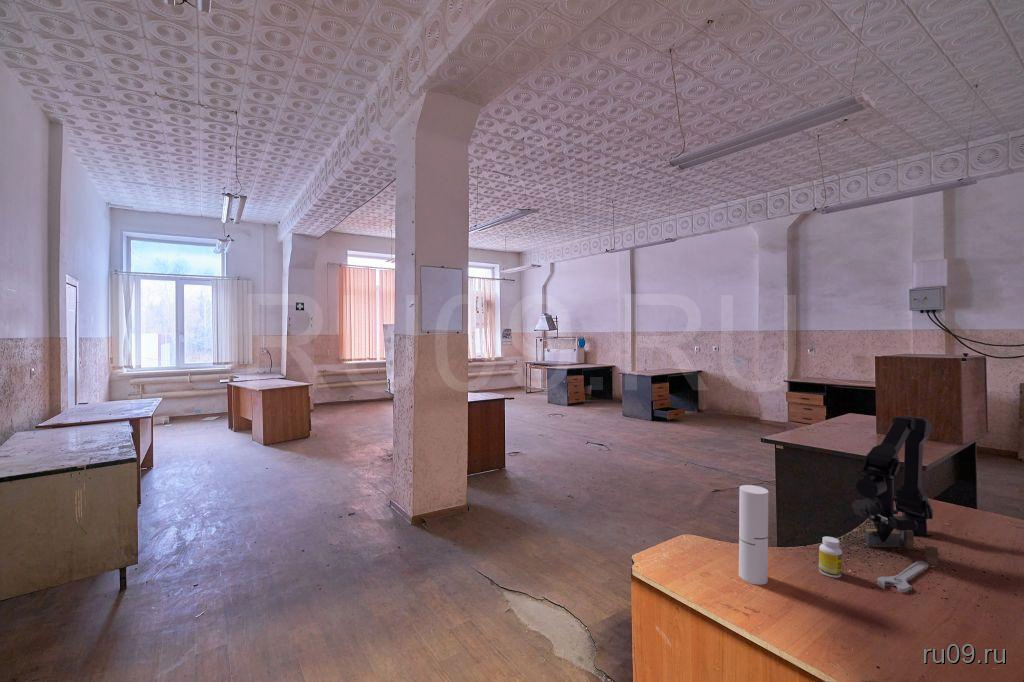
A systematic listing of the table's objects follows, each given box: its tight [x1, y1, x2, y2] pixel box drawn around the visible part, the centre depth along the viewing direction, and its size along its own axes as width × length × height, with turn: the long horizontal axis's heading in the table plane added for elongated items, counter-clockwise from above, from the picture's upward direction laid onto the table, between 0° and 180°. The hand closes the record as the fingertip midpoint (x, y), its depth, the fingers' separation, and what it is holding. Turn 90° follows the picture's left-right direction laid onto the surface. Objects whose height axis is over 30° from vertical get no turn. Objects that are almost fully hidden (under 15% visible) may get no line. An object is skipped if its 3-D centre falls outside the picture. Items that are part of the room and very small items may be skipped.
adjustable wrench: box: [876, 560, 929, 592], centre depth 128 cm, size 25×6×2 cm, turn 117°
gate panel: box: [865, 528, 904, 547], centre depth 147 cm, size 11×2×5 cm, turn 87°
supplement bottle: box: [818, 536, 843, 579], centre depth 131 cm, size 5×5×10 cm
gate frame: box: [902, 530, 939, 567], centre depth 141 cm, size 14×3×6 cm, turn 166°
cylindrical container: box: [738, 484, 769, 586], centre depth 128 cm, size 7×7×25 cm
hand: (883, 541), depth 144 cm, fingers closed
